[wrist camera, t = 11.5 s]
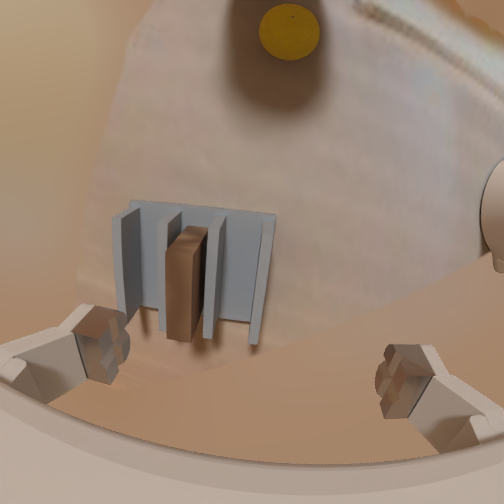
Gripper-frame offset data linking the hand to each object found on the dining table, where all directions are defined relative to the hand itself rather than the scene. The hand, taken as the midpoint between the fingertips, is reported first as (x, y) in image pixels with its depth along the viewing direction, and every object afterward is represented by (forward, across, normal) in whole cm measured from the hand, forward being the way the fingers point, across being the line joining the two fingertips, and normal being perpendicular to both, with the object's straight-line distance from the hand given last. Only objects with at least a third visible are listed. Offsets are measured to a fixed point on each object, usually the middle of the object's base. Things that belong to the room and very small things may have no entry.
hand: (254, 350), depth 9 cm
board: (+24, +8, +9) cm, 26 cm away
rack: (+25, +8, +9) cm, 27 cm away
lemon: (+26, 0, -16) cm, 30 cm away
